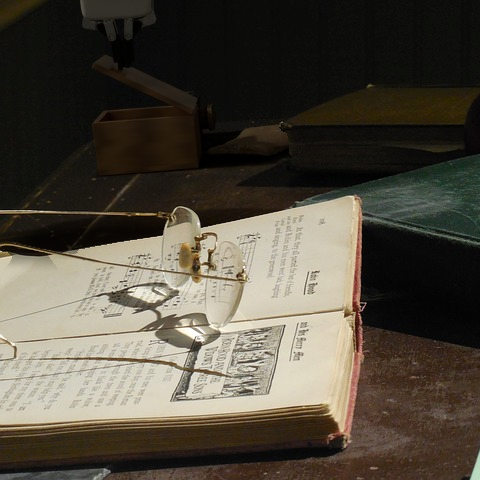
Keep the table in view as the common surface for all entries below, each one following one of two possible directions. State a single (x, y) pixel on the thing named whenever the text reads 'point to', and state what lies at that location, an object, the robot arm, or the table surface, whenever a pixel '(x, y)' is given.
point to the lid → (146, 84)
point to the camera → (205, 119)
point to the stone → (255, 142)
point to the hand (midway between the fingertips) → (125, 67)
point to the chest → (147, 140)
